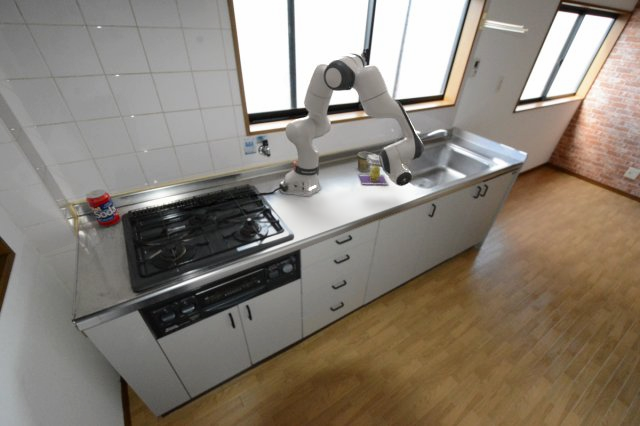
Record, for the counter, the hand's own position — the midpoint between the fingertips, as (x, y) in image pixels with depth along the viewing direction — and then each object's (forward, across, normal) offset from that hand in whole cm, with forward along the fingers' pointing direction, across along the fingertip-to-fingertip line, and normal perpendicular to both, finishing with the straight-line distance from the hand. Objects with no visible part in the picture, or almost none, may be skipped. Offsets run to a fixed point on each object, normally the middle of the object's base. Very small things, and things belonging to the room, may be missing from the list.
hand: (382, 155), depth 141 cm
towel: (+14, +3, -20) cm, 24 cm away
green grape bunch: (+14, +4, -19) cm, 24 cm away
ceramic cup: (+29, +2, -19) cm, 34 cm away
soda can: (-20, -126, -34) cm, 132 cm away
